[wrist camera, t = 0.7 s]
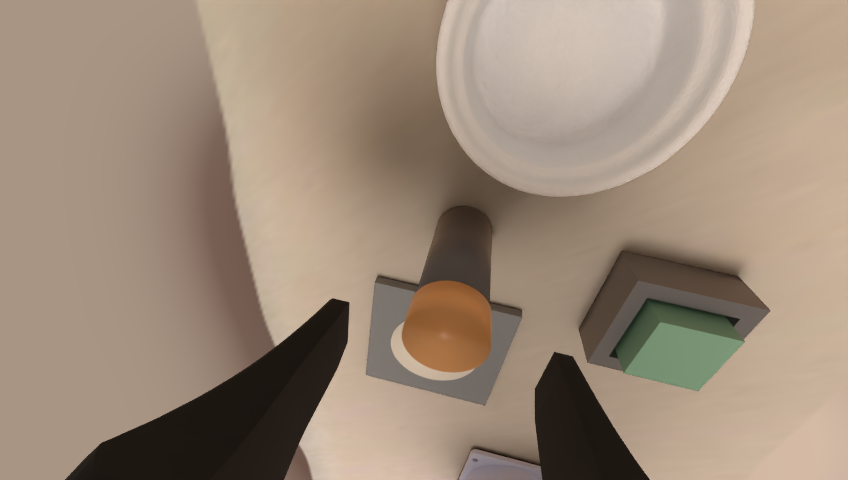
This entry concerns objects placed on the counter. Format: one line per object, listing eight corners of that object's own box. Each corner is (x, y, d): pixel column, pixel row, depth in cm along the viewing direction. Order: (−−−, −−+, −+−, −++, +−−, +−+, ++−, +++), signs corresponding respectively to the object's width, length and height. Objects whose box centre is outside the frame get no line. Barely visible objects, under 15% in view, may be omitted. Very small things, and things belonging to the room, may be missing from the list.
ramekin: (498, 188, 18) (498, 230, 14) (413, 3, 14) (384, -3, 11) (704, 104, 14) (772, 133, 11) (656, -164, 11) (734, -254, 7)
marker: (485, 261, 20) (479, 381, 13) (430, 248, 20) (397, 360, 14) (501, 211, 18) (501, 321, 12) (440, 198, 19) (407, 298, 12)
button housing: (677, 352, 21) (696, 389, 19) (578, 329, 21) (587, 362, 19) (738, 276, 18) (770, 310, 16) (622, 250, 18) (638, 280, 16)
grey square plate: (485, 398, 26) (484, 406, 26) (368, 368, 27) (365, 376, 26) (521, 310, 21) (522, 318, 21) (377, 276, 22) (374, 283, 22)
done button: (677, 352, 19) (698, 391, 17) (610, 337, 20) (623, 373, 18) (716, 304, 18) (744, 341, 15) (642, 287, 18) (660, 322, 16)
